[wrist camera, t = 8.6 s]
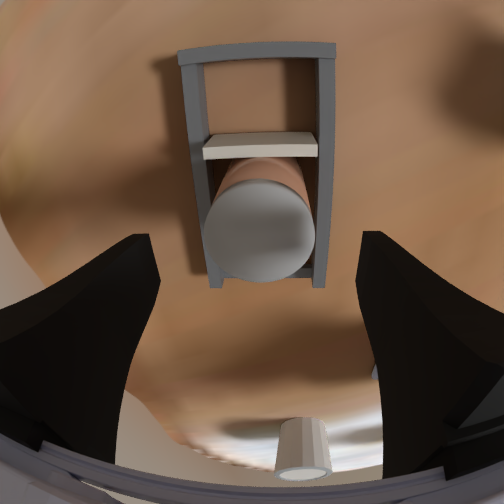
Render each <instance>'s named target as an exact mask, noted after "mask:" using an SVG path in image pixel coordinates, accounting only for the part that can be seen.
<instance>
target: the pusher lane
mask: <svg viewBox="0 0 504 504" xmlns="http://www.w3.org/2000/svg"><path fill="white" fill-rule="evenodd" d="M177 54H178V65H181V74H182V84H183V94H184V104H185V114H186V123H187V131H188V140H189V148H190V156H191V164H192V172H193V180H194V187H195V194H196V201H197V208H198V215H199V222H200V229H201V235H202V242H203V248H204V254H205V261H206V267H207V273H208V279H209V284H210V288H222V285H223V281H224V278H237V277H234V276H232V275H230V274H229V273H227V272H225V271H224V270H223V269H221V268H220V267H219V266H218V265H217V264H216V263H215V262H214V260H213V259H212V258H211V256H210V254H209V252H208V250H207V248H206V245H205V241H204V224H205V221H206V218H207V215H208V213H209V210H210V208H211V206H212V203H213V201H214V199H215V196H216V194H215V185H214V175H213V166H212V159H206V160H204V157H203V147H204V145H205V144H206V143H207V142H208V141H209V140H210V136H209V126H208V115H207V104H206V93H205V81H204V69H203V63H212V62H223V61H235V60H250V59H280V58H300V59H315V86H316V142H317V144H318V156H317V157H316V163H315V200H314V229H315V242H314V247H313V250H312V262H311V264H304V265H303V266H302V267H301V268H300V269H298V270H297V271H296V272H294V273H293V274H291V275H289V276H287V277H285V278H311V279H312V287H313V288H325V280H326V270H327V260H328V249H329V237H330V224H331V210H332V194H333V175H334V149H335V59H336V43H323V42H255V43H239V44H226V45H216V46H207V47H199V48H192V49H185V50H179V51H177Z"/></svg>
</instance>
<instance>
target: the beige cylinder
mask: <svg viewBox="0 0 504 504" xmlns="http://www.w3.org/2000/svg"><path fill="white" fill-rule="evenodd" d="M332 472H333V471H332V465H331V458H330V452H329V446H328V440H327V434H326V428H325V424H324V421H322V420H320V419H318V418H313V417H300V418H293V419H290V420H287V421H285V422H284V423H282V425H281V429H280V436H279V443H278V450H277V457H276V464H275V471H274V476H275V477H276V478H278V479H282V480H288V481H309V480H316V479H320V478H324V477H327V476H329V475H330V474H331V473H332Z"/></svg>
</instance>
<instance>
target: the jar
mask: <svg viewBox="0 0 504 504" xmlns="http://www.w3.org/2000/svg"><path fill="white" fill-rule="evenodd" d="M204 241H205V245H206V248H207V250H208V252H209V254H210V256H211V258H212V259H213V260H214V262H215V263H216V264H217V265H218V266H219V267H220V268H221V269H223V270H224V271H225V272H227V273H229V274H230V275H232V276H234V277H237V278H239V279H242V280H245V281H250V282H272V281H276V280H280V279H283V278H285V277H287V276H289V275H291V274H293V273H294V272H296V271H297V270H298V269H300V268H301V267H302V266H303V265H304V264H305V262H306V261H307V260H308V258H309V256H310V254H311V252H312V250H313V247H314V242H315V229H314V224H313V219H312V214H311V210H310V205H309V200H308V196H307V192H306V187H305V183H304V178H303V174H302V170H301V166H300V164H299V162H298V160H297V158H296V157H247V158H233V159H232V161H231V163H230V165H229V167H228V169H227V171H226V174H225V176H224V178H223V180H222V183H221V185H220V187H219V190H218V192H217V194H216V196H215V199H214V201H213V203H212V206H211V208H210V210H209V213H208V215H207V218H206V221H205V224H204Z"/></svg>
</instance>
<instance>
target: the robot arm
mask: <svg viewBox="0 0 504 504" xmlns="http://www.w3.org/2000/svg"><path fill="white" fill-rule="evenodd" d="M160 282H161V279H160V276H159V272H158V268H157V264H156V261H155V257H154V253H153V249H152V245H151V241H150V237H149V234H132V235H130V236H128V237H126V238H125V239H123V240H121V241H120V242H118V243H116V244H115V245H113V246H112V247H110V248H109V249H107V250H106V251H104V252H103V253H101V254H100V255H98V256H97V257H96V258H94V259H93V260H91V261H90V262H88V263H87V264H85V265H84V266H82V267H80V268H79V269H77V270H76V271H74V272H73V273H71V274H70V275H68V276H67V277H65V278H63V279H62V280H60V281H58V282H57V283H55V284H53V285H51V286H49V287H48V288H46V289H44V290H42V291H40V292H39V293H37V294H34V295H32V296H30V297H28V298H26V299H24V300H22V301H20V302H17V303H15V304H13V305H10V306H8V307H5V308H3V309H0V504H124V503H122V502H120V501H118V500H116V499H114V498H112V497H111V496H110V495H108V494H107V493H106V492H104V491H101V490H99V489H96V488H94V487H92V486H89V485H87V484H85V483H83V482H86V483H89V484H92V485H95V486H97V487H100V488H103V489H107V490H110V491H113V492H117V493H120V494H123V495H127V496H130V497H134V498H138V499H142V500H146V501H151V502H154V503H159V504H504V313H502V312H499V311H497V310H495V309H493V308H491V307H489V306H488V305H486V304H484V303H482V302H480V301H478V300H476V299H475V298H473V297H471V296H469V295H468V294H466V293H464V292H463V291H461V290H460V289H458V288H457V287H455V286H453V285H452V284H450V283H449V282H447V281H446V280H444V279H443V278H442V277H440V276H439V275H438V274H436V273H435V272H433V271H432V270H431V269H429V268H428V267H427V266H425V265H424V264H423V263H421V262H420V261H419V260H418V259H416V258H415V257H414V256H413V255H411V254H410V253H409V252H408V251H406V250H405V249H404V248H403V247H401V246H400V245H399V244H397V243H396V242H395V241H394V240H392V239H391V238H390V237H388V236H387V235H386V234H384V233H383V232H381V231H363V235H362V242H361V249H360V255H359V262H358V268H357V274H356V280H355V282H356V288H357V294H358V300H359V306H360V309H361V313H362V316H363V319H364V323H365V326H366V330H367V333H368V337H369V340H370V344H371V347H372V351H373V354H374V358H375V362H376V364H375V366H374V369H373V372H372V374H371V377H372V379H378V380H379V388H380V397H381V408H382V421H383V477H382V479H381V480H374V481H367V482H360V483H352V484H342V485H331V486H314V487H251V486H233V485H222V484H213V483H203V482H197V481H189V480H183V479H177V478H171V477H165V476H160V475H156V474H150V473H146V472H141V471H137V470H133V469H129V468H125V467H121V466H118V465H115V452H116V439H117V429H118V422H119V414H120V408H121V403H122V398H123V393H124V389H125V384H126V380H127V376H128V372H129V368H130V365H131V362H132V359H133V356H134V353H135V350H136V348H137V346H138V343H139V341H140V338H141V336H142V333H143V331H144V329H145V326H146V324H147V322H148V319H149V317H150V314H151V312H152V310H153V307H154V305H155V301H156V298H157V294H158V290H159V286H160ZM81 481H83V482H81Z"/></svg>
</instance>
